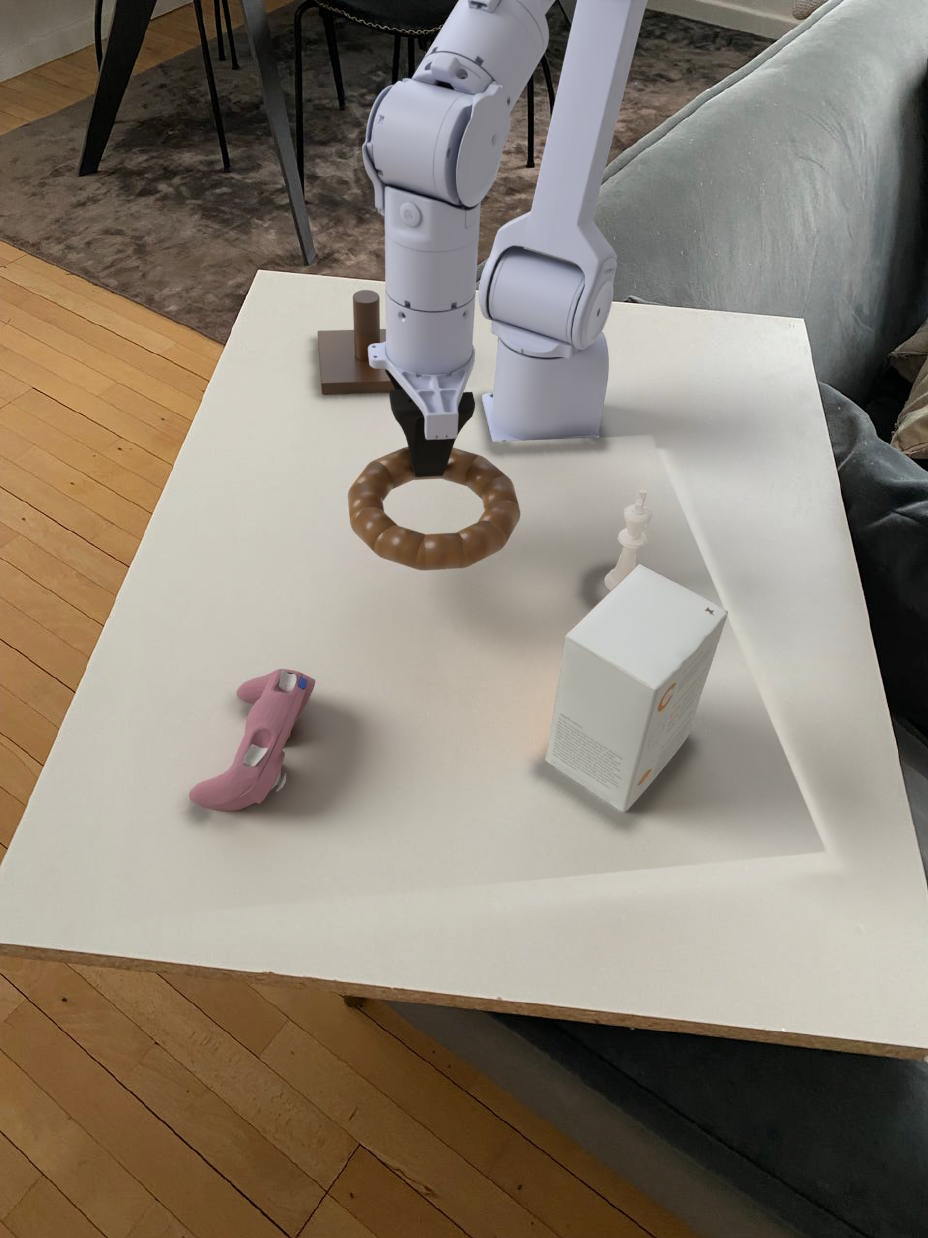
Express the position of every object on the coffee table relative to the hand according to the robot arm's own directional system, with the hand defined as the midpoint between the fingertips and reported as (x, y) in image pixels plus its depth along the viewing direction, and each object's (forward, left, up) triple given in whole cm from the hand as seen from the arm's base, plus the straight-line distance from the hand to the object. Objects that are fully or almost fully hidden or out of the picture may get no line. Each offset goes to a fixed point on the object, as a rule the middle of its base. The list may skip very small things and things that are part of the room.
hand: (426, 460), depth 76 cm
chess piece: (-14, +6, -9) cm, 18 cm away
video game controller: (+13, +19, -9) cm, 25 cm away
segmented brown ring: (0, +5, 0) cm, 5 cm away
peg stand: (+3, -26, -9) cm, 27 cm away
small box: (-10, +21, -9) cm, 25 cm away
